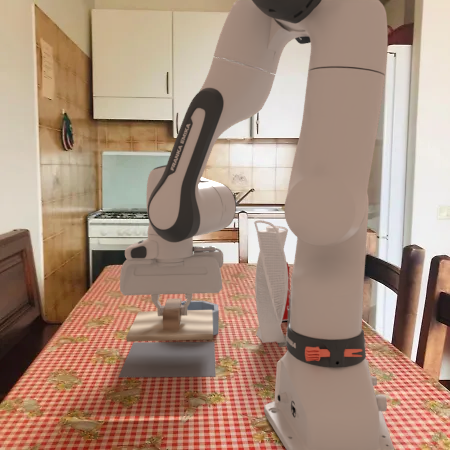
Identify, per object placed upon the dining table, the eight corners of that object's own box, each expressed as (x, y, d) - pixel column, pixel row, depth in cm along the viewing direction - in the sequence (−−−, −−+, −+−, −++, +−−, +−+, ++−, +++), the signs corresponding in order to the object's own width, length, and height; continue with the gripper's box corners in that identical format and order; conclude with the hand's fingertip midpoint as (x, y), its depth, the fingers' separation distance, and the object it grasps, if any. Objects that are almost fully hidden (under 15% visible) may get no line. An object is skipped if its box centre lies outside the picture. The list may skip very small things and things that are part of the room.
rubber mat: (215, 378, 90) (215, 376, 90) (118, 379, 89) (118, 377, 89) (214, 344, 108) (214, 341, 108) (133, 344, 107) (133, 342, 107)
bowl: (218, 340, 110) (218, 315, 109) (165, 341, 109) (165, 315, 109) (217, 323, 122) (217, 300, 121) (170, 324, 121) (169, 300, 121)
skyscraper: (259, 350, 105) (261, 222, 102) (248, 337, 113) (249, 218, 110) (295, 346, 108) (298, 221, 104) (281, 334, 115) (284, 217, 112)
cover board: (213, 339, 90) (212, 315, 89) (126, 341, 89) (125, 317, 89) (212, 314, 106) (212, 294, 105) (138, 316, 105) (138, 295, 105)
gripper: (222, 243, 99) (223, 309, 101) (122, 245, 98) (125, 312, 100) (223, 248, 93) (224, 318, 94) (116, 250, 92) (119, 321, 94)
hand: (172, 315), depth 97 cm, fingers closed on cover board, 3 cm apart
